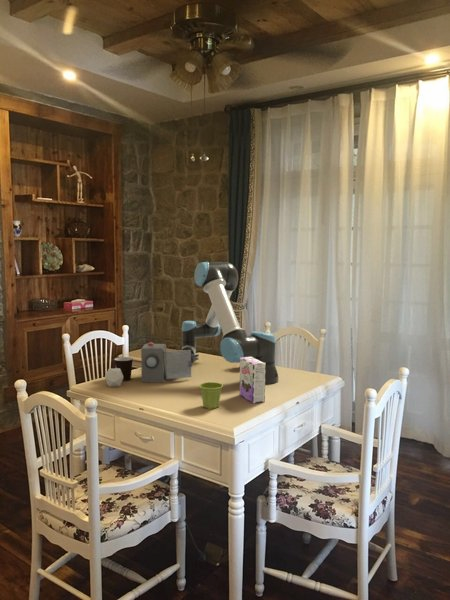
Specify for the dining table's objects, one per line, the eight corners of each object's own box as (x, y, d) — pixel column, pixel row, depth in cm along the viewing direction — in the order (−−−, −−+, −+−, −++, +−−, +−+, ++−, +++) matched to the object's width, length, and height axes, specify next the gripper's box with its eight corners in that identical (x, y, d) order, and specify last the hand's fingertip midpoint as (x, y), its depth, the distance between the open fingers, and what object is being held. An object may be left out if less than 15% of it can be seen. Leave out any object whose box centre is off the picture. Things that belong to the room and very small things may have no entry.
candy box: (238, 394, 218) (239, 357, 217) (251, 393, 221) (251, 356, 219) (252, 403, 206) (252, 363, 204) (265, 402, 208) (266, 362, 206)
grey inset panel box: (162, 383, 236) (162, 347, 235) (140, 383, 237) (140, 347, 235) (166, 376, 251) (166, 341, 249) (145, 375, 251) (145, 341, 249)
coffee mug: (130, 381, 239) (130, 360, 238) (112, 381, 239) (112, 360, 238) (135, 375, 251) (135, 355, 250) (118, 375, 251) (118, 355, 250)
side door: (164, 379, 238) (164, 352, 236) (163, 378, 239) (163, 351, 238) (191, 377, 242) (191, 350, 241) (190, 376, 244) (190, 349, 243)
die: (125, 384, 237) (114, 367, 238) (129, 379, 230) (118, 361, 231) (110, 393, 232) (98, 375, 234) (114, 388, 225) (103, 370, 227)
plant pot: (223, 410, 197) (223, 388, 197) (199, 410, 197) (199, 388, 196) (222, 403, 207) (222, 382, 206) (198, 403, 206) (198, 382, 205)
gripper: (200, 361, 266) (197, 371, 243) (174, 360, 266) (168, 371, 243) (200, 346, 266) (197, 356, 242) (174, 346, 266) (168, 356, 242)
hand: (183, 364), depth 243 cm, fingers closed
